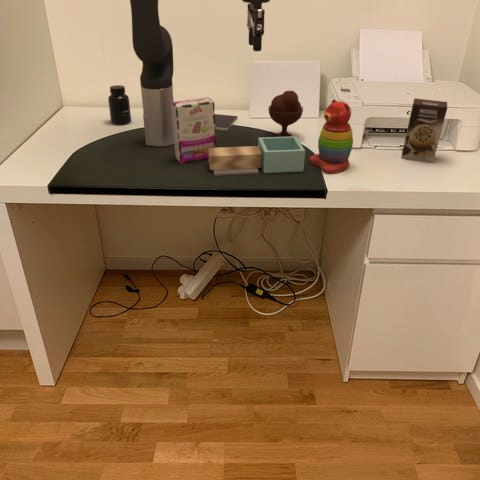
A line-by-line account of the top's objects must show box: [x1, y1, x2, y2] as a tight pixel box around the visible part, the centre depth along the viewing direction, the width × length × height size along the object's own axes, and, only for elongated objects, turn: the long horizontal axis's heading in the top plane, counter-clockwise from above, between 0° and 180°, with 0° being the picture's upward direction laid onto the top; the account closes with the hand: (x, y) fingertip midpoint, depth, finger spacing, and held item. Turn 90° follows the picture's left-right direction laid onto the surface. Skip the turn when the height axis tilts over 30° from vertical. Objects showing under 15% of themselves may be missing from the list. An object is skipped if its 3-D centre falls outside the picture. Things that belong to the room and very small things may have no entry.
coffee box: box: [400, 97, 448, 163], centre depth 134 cm, size 9×6×16 cm
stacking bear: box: [308, 99, 354, 175], centre depth 128 cm, size 11×10×18 cm
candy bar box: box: [171, 97, 217, 164], centre depth 131 cm, size 11×5×16 cm, turn 115°
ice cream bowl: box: [268, 90, 304, 137], centre depth 147 cm, size 11×11×15 cm
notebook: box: [215, 113, 238, 131], centre depth 163 cm, size 13×2×21 cm
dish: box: [257, 135, 306, 174], centre depth 131 cm, size 11×11×6 cm
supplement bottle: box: [107, 84, 132, 126], centre depth 158 cm, size 7×7×12 cm
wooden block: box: [207, 145, 262, 171], centre depth 129 cm, size 14×6×4 cm, turn 97°
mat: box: [212, 168, 260, 177], centre depth 131 cm, size 12×11×1 cm
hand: (254, 47), depth 130 cm, fingers open, 8 cm apart
